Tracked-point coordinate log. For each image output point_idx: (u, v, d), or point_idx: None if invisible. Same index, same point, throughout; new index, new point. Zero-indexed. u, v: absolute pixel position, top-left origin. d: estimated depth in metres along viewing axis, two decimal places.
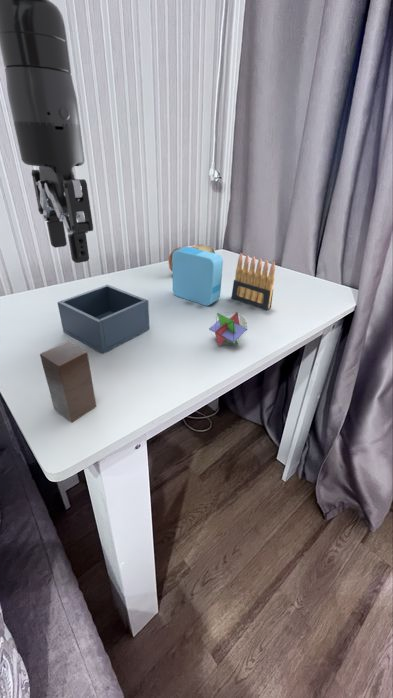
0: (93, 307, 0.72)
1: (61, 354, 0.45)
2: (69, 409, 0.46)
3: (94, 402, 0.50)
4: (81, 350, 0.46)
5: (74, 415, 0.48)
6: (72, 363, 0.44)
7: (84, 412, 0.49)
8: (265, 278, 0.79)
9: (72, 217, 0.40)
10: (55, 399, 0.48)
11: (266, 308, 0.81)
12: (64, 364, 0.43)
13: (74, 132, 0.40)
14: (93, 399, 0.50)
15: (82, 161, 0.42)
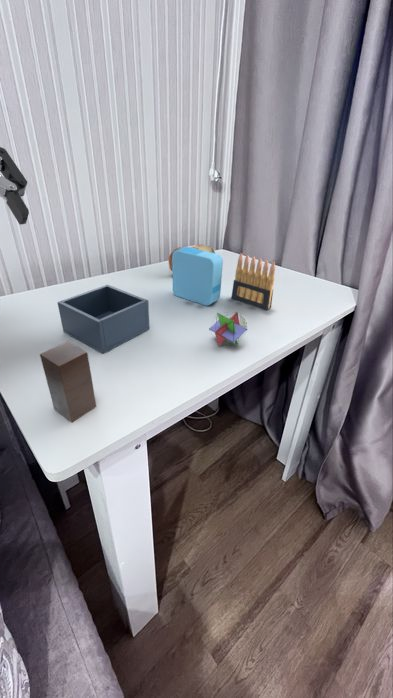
0: (93, 307, 0.72)
1: (61, 354, 0.45)
2: (69, 409, 0.46)
3: (94, 402, 0.50)
4: (81, 350, 0.46)
5: (74, 415, 0.48)
6: (72, 363, 0.44)
7: (84, 412, 0.49)
8: (265, 278, 0.79)
9: None
10: (55, 399, 0.48)
11: (266, 308, 0.81)
12: (64, 364, 0.43)
13: None
14: (93, 399, 0.50)
15: None
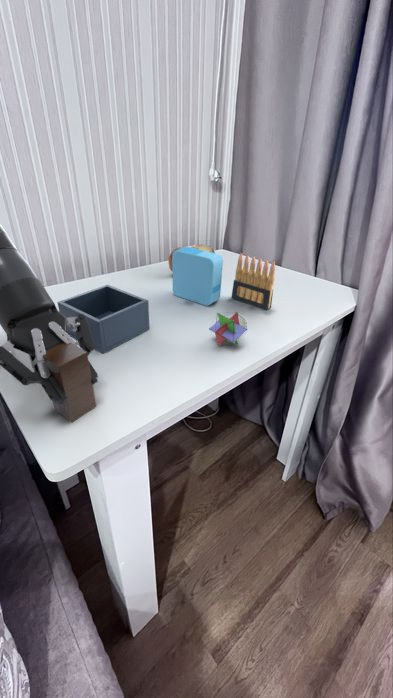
0: (93, 307, 0.72)
1: (61, 354, 0.45)
2: (69, 409, 0.46)
3: (94, 402, 0.50)
4: (81, 350, 0.45)
5: (74, 415, 0.48)
6: (72, 363, 0.44)
7: (84, 412, 0.49)
8: (265, 278, 0.79)
9: (91, 337, 0.50)
10: None
11: (266, 308, 0.81)
12: (64, 364, 0.43)
13: None
14: (93, 399, 0.50)
15: None
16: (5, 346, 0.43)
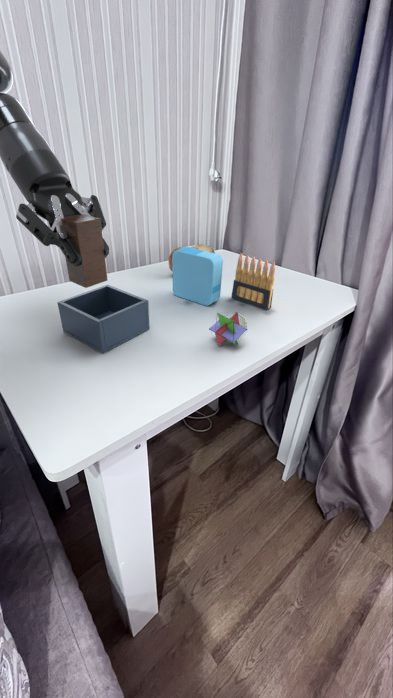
0: (93, 307, 0.72)
1: (77, 218, 0.50)
2: (84, 273, 0.52)
3: (106, 275, 0.55)
4: (95, 217, 0.51)
5: (88, 281, 0.53)
6: (87, 224, 0.49)
7: (97, 282, 0.54)
8: (265, 278, 0.79)
9: (103, 216, 0.55)
10: (71, 267, 0.53)
11: (266, 308, 0.81)
12: (80, 223, 0.48)
13: None
14: (104, 272, 0.55)
15: None
16: (28, 207, 0.48)
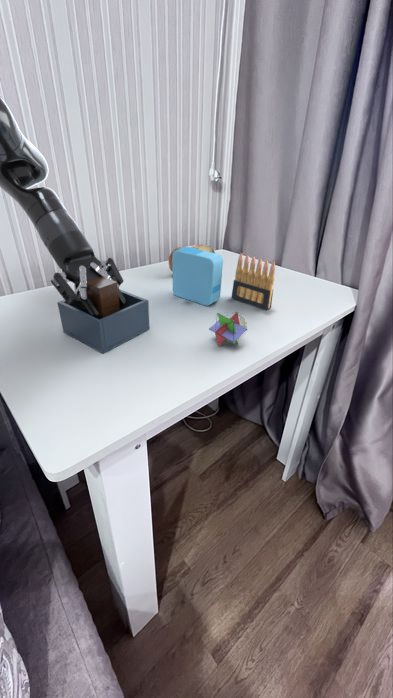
0: None
1: (99, 282, 0.64)
2: None
3: None
4: (113, 281, 0.65)
5: None
6: (107, 288, 0.63)
7: None
8: (265, 278, 0.79)
9: None
10: None
11: (266, 308, 0.81)
12: (102, 288, 0.62)
13: None
14: None
15: None
16: (61, 274, 0.62)
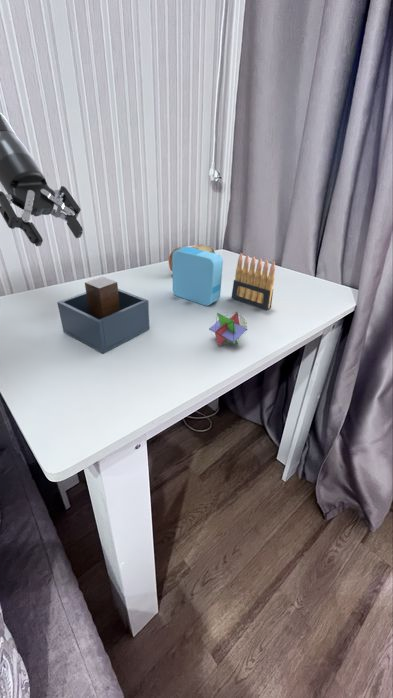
0: None
1: (99, 282, 0.64)
2: None
3: None
4: (113, 281, 0.65)
5: None
6: (107, 288, 0.63)
7: None
8: (265, 278, 0.79)
9: None
10: None
11: (266, 308, 0.81)
12: (102, 288, 0.62)
13: None
14: None
15: None
16: (6, 196, 0.59)
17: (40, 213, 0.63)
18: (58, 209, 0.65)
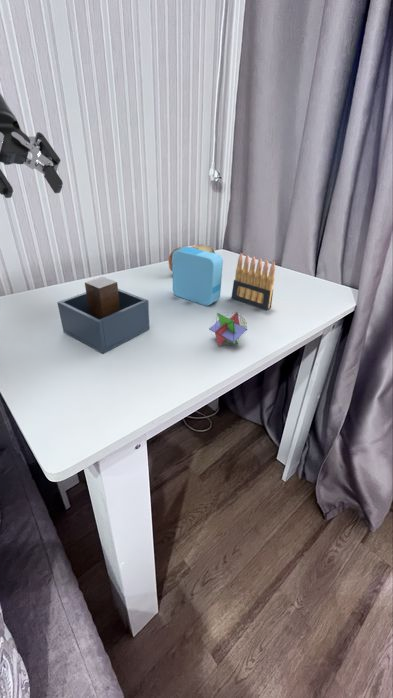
0: None
1: (99, 282, 0.64)
2: None
3: None
4: (113, 281, 0.65)
5: None
6: (107, 288, 0.63)
7: None
8: (265, 278, 0.79)
9: None
10: None
11: (266, 308, 0.81)
12: (102, 288, 0.62)
13: None
14: None
15: None
16: None
17: (12, 161, 0.54)
18: (33, 158, 0.55)
